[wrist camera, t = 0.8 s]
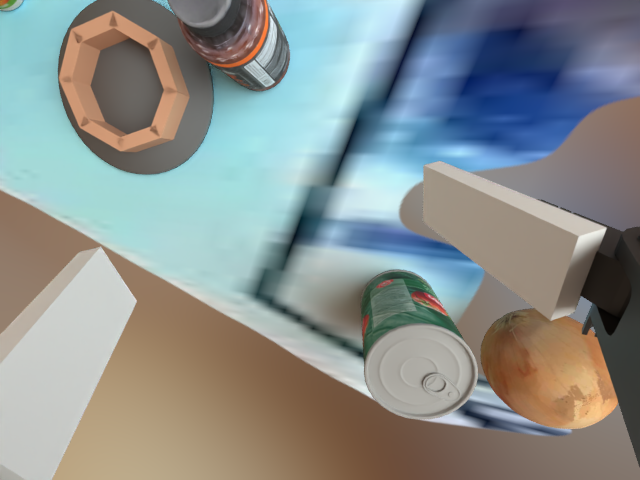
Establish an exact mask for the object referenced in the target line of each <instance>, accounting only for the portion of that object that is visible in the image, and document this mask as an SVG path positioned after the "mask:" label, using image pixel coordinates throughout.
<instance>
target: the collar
mask: <svg viewBox="0 0 640 480" xmlns="http://www.w3.org/2000/svg"><path fill="white" fill-rule="evenodd" d="M129 38H132V39H134V40H135V41H137V42H139V43H140V44H142V45H144V46H146V47H147V48H149V50H150V53H151V56H152V58H153V61H154V64H155V67H156V69H157V72H158V75H159V78H160V81H161V83H162V86H163V89H164V92H163V94H162V97H161V100H160V103H159V106H158V109H157V111H156V114H155V117H154V120H153V123H152V125H151V127H148V128H145V129H142V130H139V131H137V132H134V133H131V134H128V135H127V134H125V133H124V132H122V131H120V130H119V129H117V128H115V127H113V126H112V125H110V124H108V123H106V122H105V120H104V118H103V115H102V113H101V110H100V108H99V106H98V103H97V101H96V98H95V96H94V93H93V91H92V88H91V82H92V78H93V75H94V71H95V68H96V64H97V61H98V57H99V54H100V50H103V49H105V48H108V47H110V46H112V45H115V44H117V43H119V42H122V41H124V40H127V39H129ZM59 81H60V83H61V85H62V88H63V90H64V92H65V95H66V97H67V99H68V102H69V104H70V106H71V109H72V111H73V113H74V116H75V118H76V120H77V122H78V125H79V127H80V128H81V129H83V130H84V131H86V132H88V133H90V134H91V135H93V136H95V137H97V138H98V139H100V140H102V141H104V142H105V143H107V144H109V145H110V146H112V147H114V148H116V149H117V150H119V151H124V152H139V151H141V150H144V149H147V148H150V147H153V146H156V145H159V144H162V143H165V142H168V141H171V140H173V139H174V137H175V134H176V132H177V129H178V127H179V124H180V121H181V119H182V116H183V113H184V111H185V108H186V106H187V103H188V100H189V98H190V97H189V93H188V90H187V87H186V84H185V81H184V78H183V76H182V73H181V70H180V67H179V64H178V61H177V58H176V55H175V52H174V49H173V47H172V46H171V45H169V44H168V43H166V42H165V41H163V40H162V39H160V38H159V37H157V36H155V35H153V34H152V33H150V32H148V31H147V30H145V29H143V28H142V27H140V26H138V25H137V24H135V23H133V22H131V21H130V20H128V19H126V18H125V17H123V16H121V15H120V14H118V13H116V12H114V11H111V12H109V13H106V14H104V15H102V16H100V17H97V18H95V19H93V20H91V21H88V22H86V23H84V24H82V25H79V26H77V27H75V28H73V29H71V31H70V35H69V39H68V43H67V47H66V51H65V55H64V59H63V63H62V67H61V71H60V75H59Z"/></svg>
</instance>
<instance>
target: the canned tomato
mask: <svg viewBox="0 0 640 480" xmlns="http://www.w3.org/2000/svg"><path fill="white" fill-rule="evenodd" d="M361 314H362V315H361V317H362V335H363V353H364V376H365V382H366V384H367V387H368V390H369V391H370V393H371V394H372V396H373V398H374V399H375V400H376V401H377V402H378V403H379V404H380V405H381V406H383V407H384V408H386V409H387V410H388V411H390V412H392V413H395V414H397V415H399V416H403V417H406V418H411V419H433V418H439V417H442V416H444V415H447V414H450V413H451V412H453V411H455V410H457V409H458V408H459V407H461V406H462V405H463V404H464V403H465V402H466V401H467V400H468V399H469V397H470V396H471V395H472V393H473V391H474V389H475V387H476V383H477V379H478V366H477V363H476V359H475V356H474V355H473V353H472V351H471V349H470V347H469V346H468V345H467V344H466V343H465V342H464V339H463V338H462V336H461V334H460V333H459V331H458V329H457V328H456V326H455V325H454V323H453V322H452V320H451V318H450V317H449V315H448V313H447V312H446V310H445V309H444V307H443V306H442V304H441V303H440V301H439V300H438V298H437V296H436V295H435V293H434V291H433V290H432V288H431V286H430V285H429V284H428V283H427V281H426V280H425V279H423V278H422V277H421V276H419V275H417V274H415V273H413V272H410V271H406V270H391V271H387V272H383V273H381V274H379V275H377V276H376V277H375V278H373V279H372V280H371V281H370V282H369V283H368V284H367V285H366V287H365V289H364V291H363V293H362V297H361Z"/></svg>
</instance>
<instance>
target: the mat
mask: <svg viewBox="0 0 640 480" xmlns="http://www.w3.org/2000/svg"><path fill="white" fill-rule="evenodd" d="M111 11H114V12H116V13H118V14H120V15H121V16H123V17H125V18H126V19H128V20H130V21H131V22H133V23H135V24H137V25H138V26H140V27H142V28H143V29H145V30H147V31H148V32H150V33H152V34H153V35H155V36H157V37H159V38H160V39H162V40H163V41H165V42H166V43H168V44H169V45H171V46H172V47H173V49H174V52H175V55H176V58H177V61H178V64H179V67H180V70H181V73H182V76H183V78H184V81H185V84H186V87H187V90H188V93H189V97H190V98H189V100H188V103H187V106H186V108H185V111H184V113H183V116H182V119H181V121H180V124H179V127H178V129H177V132H176V134H175V137H174V139H173V140H171V141H168V142H165V143H162V144H159V145H156V146H153V147H150V148H147V149H144V150H141V151H139V152H124V151H119V150H117V149H116V148H114V147H112V146H110V145H109V144H107V143H105V142H104V141H102V140H100V139H98V138H97V137H95V136H93V135H91V134H90V133H88V132H86V131H84V130H83V129H81V128H80V127H79V125H78V122H77V120H76V118H75V116H74V113H73V111H72V109H71V106H70V104H69V102H68V99H67V97H66V95H65V92H64V90H63V88H62V85H61V83H60V81H59V88H60V94H61V98H62V102H63V105H64V108H65V110H66V113H67V116H68V118H69V120H70V122H71V124H72V126H73V127H74V129H75V131H76V132H77V134H78V135H79V137H80V138H81V139H82V141H83V142H84V143H85V144H86V145H87V146H88V147H89V148H90V149H91V150H92V152H94V153H95V154H96V155H97V156H98V157H100V158H101V159H102V160H104V161H105V162H107V163H108V164H110V165H112V166H114V167H116V168H118V169H121V170H124V171H127V172H131V173H136V174H157V173H162V172H166V171H169V170H172V169H174V168H176V167H178V166H180V165H181V164H183V163H184V162H186V161H187V160H188V159H189V158H190V157H191V156H192V155H193V154H194V153H195V152H196V151H197V149H198V148H199V147H200V145H201V144H202V142H203V140H204V138H205V136H206V134H207V132H208V129H209V126H210V123H211V118H212V113H213V102H214V96H213V83H212V77H211V73H210V69H209V65H208V63H207V60H205V59H204V58H202V57H201V56H200V55H199V54H198V53H197V52H195V51H194V50H193V49H192V48H191V46H190V45H189V44H188V43H187V41H186V39H185V37H184V36H183V34H182V31H181V28H180V26H179V23H178V18H177V17H176V16H175V15H174V14H173V13H172V12H171V11H169V10H168V9H166V8H165V7H163V6H162V5H160V4H158V3H156V2H154V1H152V0H97V1H95V2H93V3H92V4H90V5H88V6H87V7H86V8H85V9H84V10H82V11H81V12H80V13H79V15H78V16H77V17H76V18H75V19H74V21H73V22H72V24H71V25H70V27H69V28H68V30H67V33H66V35H65V37H64V40H63V43H62V46H61V50H60V56H59V64H58V79H59V75H60V71H61V67H62V63H63V59H64V55H65V51H66V47H67V43H68V39H69V35H70V31H71V29H73V28H75V27H77V26H79V25H82V24H84V23H86V22H88V21H91V20H93V19H95V18H97V17H100V16H102V15H104V14H106V13H109V12H111ZM91 88H92V91H93V93H94V96H95V98H96V101H97V103H98V106H99V108H100V110H101V113H102V115H103V118H104V120H105V122H106V123H108V124H110V125H112V126H113V127H115V128H117V129H119V130H120V131H122V132H124V133H125V134H127V135H128V134H131V133H134V132H137V131H139V130H142V129H145V128H148V127H151V125H152V123H153V120H154V117H155V114H156V111H157V109H158V106H159V103H160V100H161V97H162V94H163V92H164V89H163V86H162V83H161V81H160V78H159V75H158V72H157V69H156V67H155V64H154V61H153V58H152V56H151V53H150V50H149V48H147V47H146V46H144V45H142V44H140V43H139V42H137V41H135V40H134V39H132V38H129V39H127V40H124V41H122V42H119V43H117V44H115V45H112V46H110V47H108V48H105V49H103V50H100V54H99V57H98V61H97V64H96V68H95V71H94V75H93V78H92V82H91Z"/></svg>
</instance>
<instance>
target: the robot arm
mask: <svg viewBox="0 0 640 480" xmlns="http://www.w3.org/2000/svg"><path fill="white" fill-rule="evenodd" d="M423 188H424V189H423V222H424V223H425V224H426V225H427V226H429V227H430V228H431V229H433V230H434V231H435V232H437V233H438V234H439V235H441V236H442V237H443V238H444V239H446V240H447V241H448V242H449V243H451V244H452V245H453V246H455V247H456V248H457V249H458V250H460V251H461V252H462V253H464V254H465V255H466V256H468V257H469V258H470V259H471V260H473V261H474V262H475V263H477V264H478V265H479V266H480V267H482V268H483V269H484V270H486V271H487V272H488V273H490V274H491V275H492V276H493V277H495V278H496V279H497V280H499V281H500V282H501V283H503V284H504V285H505V286H506V287H508V288H509V289H510V290H511V291H513V292H514V293H516V294H517V295H518V296H519V297H521V298H522V299H523V300H524V301H526V302H527V303H528V304H530V305H531V306H532V307H534V308H535V309H536V310H537V311H539V312H540V313H541V314H543V315H544V316H545V317H546V318H548V319H549V320H550V321H552V320H555V319H558V318H561V317H563V316H566V315H569V314H572V313H574V312H575V310H576V307H577V305H578V301H579V299H580V296H583V297H584V298H586V299H587V300H589V301H590V302H592V306H591V308H590V311H589V313H588V315H587V318H586V320H585V322H584V325H583V327H582V334H583V335H587V334H588V331H589V329H590V328H591V327H593V326H594V329H595V332H596V333H595V335H594V337H597V338H598V341H599V345H600V348H601V351H602V354H603V357H604V360H605V363H606V366H607V369H608V372H609V375H610V378H611V381H612V384H613V387H614V390H615V393H616V396H617V400H618V403H619V406H620V409H621V412H622V415H623V418H624V421H625V424H626V427H627V430H628V433H629V436H630V439H631V442H632V445H633V448H634V451H635V454H636V458H637V461H638V464H639V467H640V227H634V228H629V229H626V230H625V231H624V232H622V231H620V230H617V229H615V228H612V227H609V226H607V225H604V224H602V223H599V222H597V221H594V220H591V219H589V218H586V217H584V216H581V215H579V214H576V213H571V211H569V210H566V209H564V208H558V206H556V205H554V204H551V203H548V202H546V201H543V200H539V199H534V198H531V197H529V196H526V195H524V194H521V193H519V192H516V191H514V190H511V189H509V188H506V187H504V186H501V185H499V184H496V183H494V182H491V181H489V180H486V179H484V178H481V177H479V176H476V175H474V174H471V173H469V172H466V171H464V170H461V169H459V168H456V167H454V166H451V165H449V164H446V163H444V162H441V161H438V162H434V163H430V164H426V165H424V181H423ZM136 302H137V301H136V299H135V298H134V296H133V295H132V293H131V292H130V290H129V289H128V287H127V286H126V284H125V283H124V281H123V280H122V278H121V277H120V275H119V274H118V272H117V270H116V269H115V267H114V266H113V264H112V263H111V261H110V260H109V258H108V257H107V256H106V254H105V252H104V251H103V249H102V248H101V247H98V248H94V249H90V250H86V251H82V252H79V253H78V254H77V255H76V256H75V257H74V258H73V259H72V260H71V261H70V262H69V264H67V265H66V266H65V267H64V269H63V270H62V271H61V272H60V273H59V274H58V275H57V276H56V277H55V278H54V279H53V280H52V281H51V282H50V283H49V284H48V285H47V286H46V287H45V288H44V290H43V291H42V292H41V293H40V294H39V295H38V296H37V297H36V298H35V299H34V300H33V301H32V302H31V303H30V304H29V305H28V306H27V307H26V308H25V309H24V310H23V312H21V314H20V315H19V316H18V317H17V318H16V319H15V320H14V321H13V322H12V323H11V324H10V325H9V326H8V327H7V328H6V329H5V330H4V331H3V332H2V333H1V334H0V480H52V478H53V476H54V474H55V472H56V469H57V467H58V465H59V463H60V461H61V459H62V457H63V455H64V453H65V451H66V449H67V447H68V444H69V442H70V440H71V438H72V436H73V434H74V432H75V430H76V428H77V426H78V424H79V422H80V419H81V417H82V415H83V413H84V411H85V409H86V407H87V405H88V403H89V401H90V398H91V396H92V394H93V392H94V390H95V388H96V386H97V384H98V382H99V380H100V378H101V376H102V373H103V371H104V369H105V367H106V365H107V363H108V361H109V359H110V357H111V355H112V353H113V350H114V348H115V346H116V344H117V342H118V340H119V338H120V336H121V334H122V332H123V330H124V327H125V325H126V323H127V321H128V319H129V317H130V315H131V313H132V311H133V309H134V306H135V304H136Z"/></svg>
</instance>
